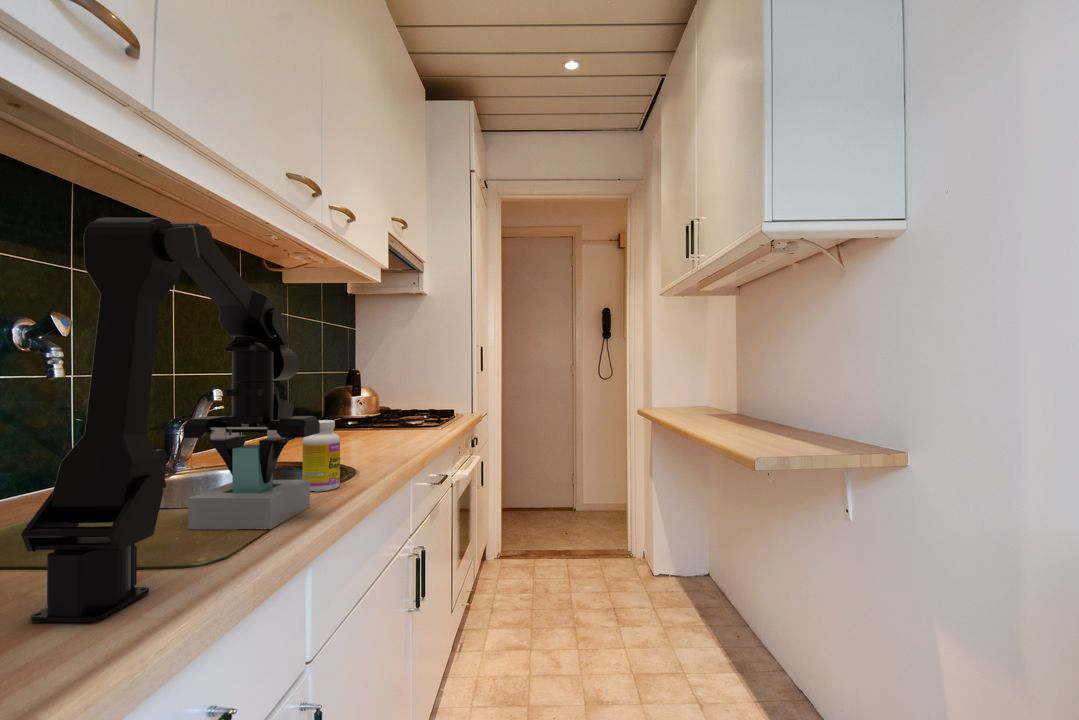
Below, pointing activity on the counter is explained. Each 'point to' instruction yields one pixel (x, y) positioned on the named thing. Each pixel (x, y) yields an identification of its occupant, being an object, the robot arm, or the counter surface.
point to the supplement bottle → (322, 458)
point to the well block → (248, 506)
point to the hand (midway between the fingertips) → (253, 482)
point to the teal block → (248, 471)
